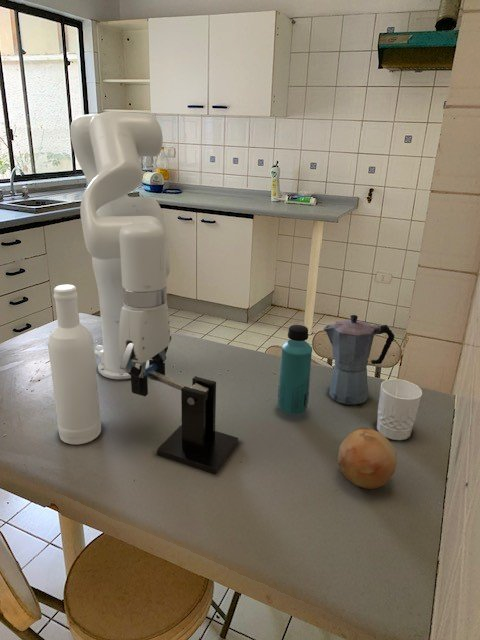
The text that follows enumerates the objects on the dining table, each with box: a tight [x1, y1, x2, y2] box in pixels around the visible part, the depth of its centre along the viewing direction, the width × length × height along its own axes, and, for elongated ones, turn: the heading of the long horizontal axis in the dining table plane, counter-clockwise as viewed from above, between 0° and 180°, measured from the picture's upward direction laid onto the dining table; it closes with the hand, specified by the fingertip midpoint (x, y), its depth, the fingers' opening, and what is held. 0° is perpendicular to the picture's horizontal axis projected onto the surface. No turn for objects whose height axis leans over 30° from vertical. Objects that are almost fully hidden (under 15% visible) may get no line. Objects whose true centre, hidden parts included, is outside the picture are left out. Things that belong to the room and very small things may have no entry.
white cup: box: [376, 378, 423, 441], centre depth 93 cm, size 8×8×10 cm
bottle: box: [47, 283, 102, 445], centre depth 85 cm, size 8×8×30 cm
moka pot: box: [322, 314, 395, 405], centre depth 104 cm, size 10×15×20 cm, turn 88°
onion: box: [337, 426, 398, 490], centre depth 79 cm, size 10×10×10 cm
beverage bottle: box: [277, 324, 313, 415], centre depth 97 cm, size 6×7×20 cm
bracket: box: [156, 376, 239, 475], centre depth 85 cm, size 12×10×14 cm
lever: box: [145, 364, 209, 400], centre depth 85 cm, size 13×5×2 cm, turn 66°
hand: (148, 386), depth 87 cm, fingers closed on lever, 5 cm apart
